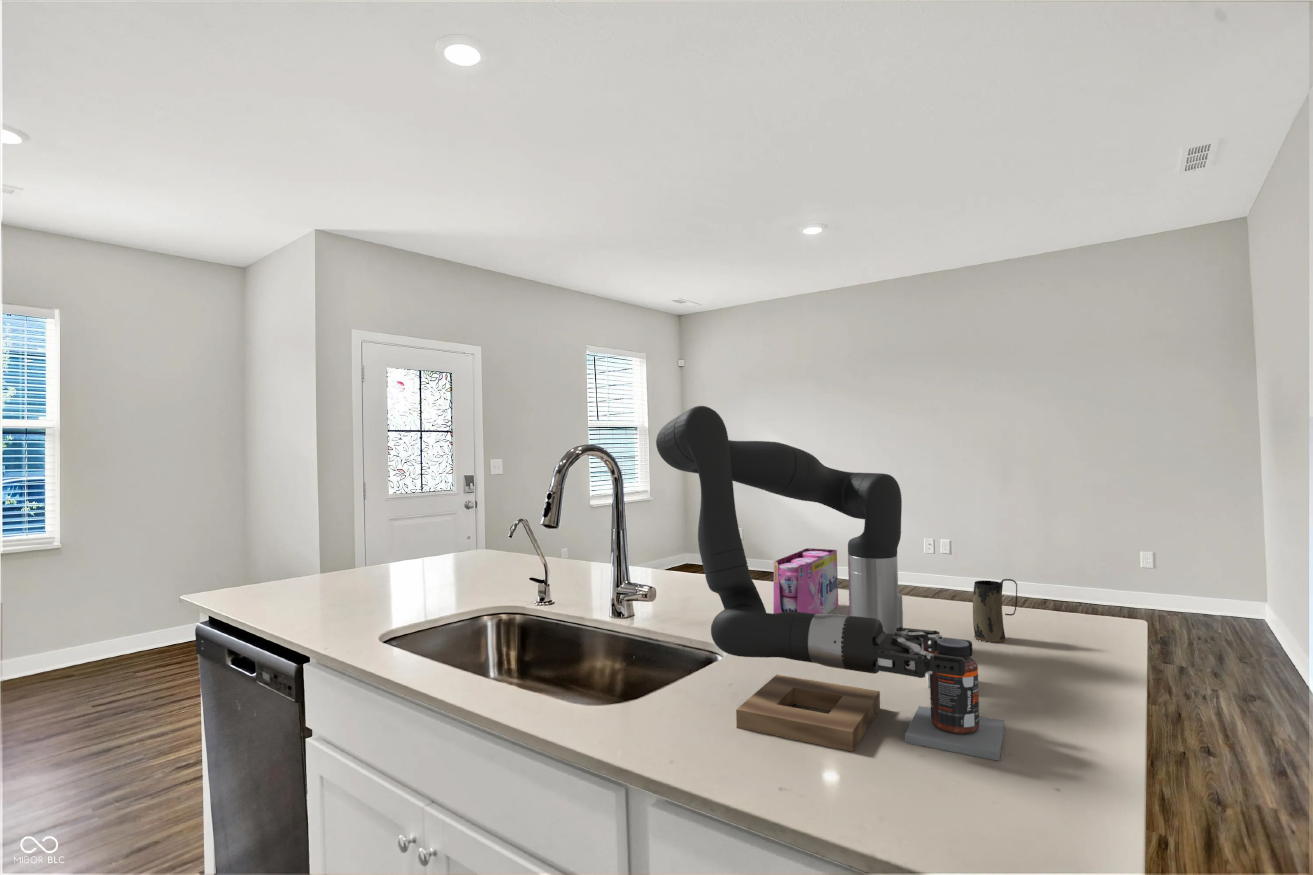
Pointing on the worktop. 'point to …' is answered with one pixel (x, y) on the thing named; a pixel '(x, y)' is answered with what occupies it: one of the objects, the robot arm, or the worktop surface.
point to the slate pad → (957, 736)
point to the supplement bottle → (955, 692)
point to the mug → (989, 611)
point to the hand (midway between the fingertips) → (968, 657)
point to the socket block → (833, 730)
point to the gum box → (806, 582)
